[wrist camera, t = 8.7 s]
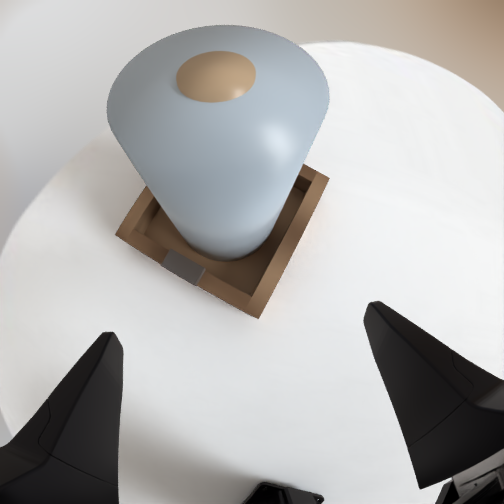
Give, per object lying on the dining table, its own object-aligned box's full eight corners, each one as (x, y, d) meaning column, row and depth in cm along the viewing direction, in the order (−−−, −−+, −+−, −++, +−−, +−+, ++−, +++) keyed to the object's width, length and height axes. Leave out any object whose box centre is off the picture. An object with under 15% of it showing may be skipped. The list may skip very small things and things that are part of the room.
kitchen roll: (271, 265, 19) (341, 182, 6) (172, 257, 19) (73, 169, 6) (275, 175, 21) (320, 32, 8) (186, 169, 20) (144, 26, 7)
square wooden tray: (254, 318, 19) (259, 320, 16) (128, 245, 20) (109, 232, 16) (319, 192, 22) (333, 172, 18) (203, 135, 22) (199, 109, 18)
